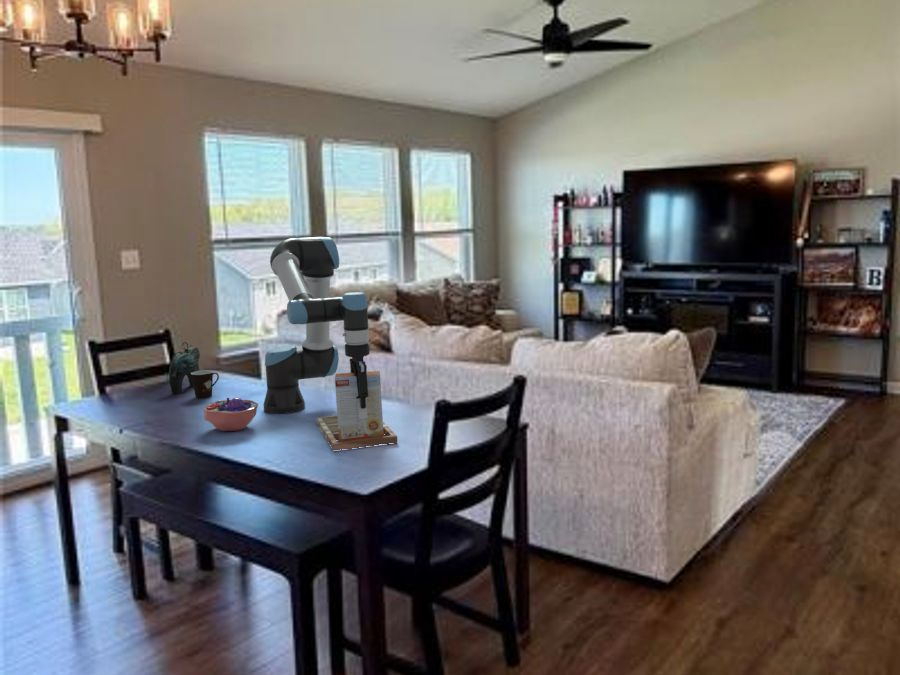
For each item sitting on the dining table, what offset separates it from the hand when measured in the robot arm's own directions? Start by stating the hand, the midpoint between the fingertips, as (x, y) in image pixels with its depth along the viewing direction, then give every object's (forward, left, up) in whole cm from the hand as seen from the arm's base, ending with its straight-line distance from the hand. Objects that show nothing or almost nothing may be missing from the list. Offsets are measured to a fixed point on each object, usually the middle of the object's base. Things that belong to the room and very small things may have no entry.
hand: (360, 414), depth 232 cm
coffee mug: (-89, -45, -9) cm, 100 cm away
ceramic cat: (-107, -53, -9) cm, 120 cm away
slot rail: (-10, 0, -9) cm, 14 cm away
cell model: (-34, -38, -9) cm, 52 cm away
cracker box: (0, 0, -8) cm, 8 cm away
